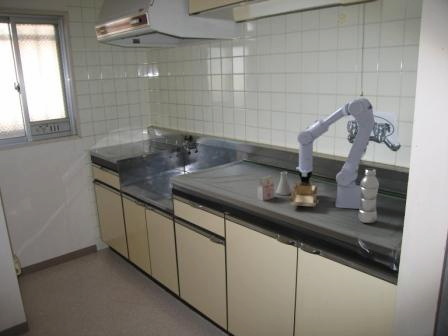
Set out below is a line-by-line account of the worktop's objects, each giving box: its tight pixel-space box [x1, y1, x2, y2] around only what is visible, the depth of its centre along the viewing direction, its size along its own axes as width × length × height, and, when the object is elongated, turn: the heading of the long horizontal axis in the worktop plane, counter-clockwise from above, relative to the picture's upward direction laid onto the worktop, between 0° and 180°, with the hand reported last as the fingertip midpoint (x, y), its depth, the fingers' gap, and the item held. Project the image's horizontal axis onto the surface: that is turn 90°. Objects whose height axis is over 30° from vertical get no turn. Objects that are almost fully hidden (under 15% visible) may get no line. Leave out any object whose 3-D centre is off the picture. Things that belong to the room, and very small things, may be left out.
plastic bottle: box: [357, 167, 380, 224], centre depth 138 cm, size 6×7×20 cm
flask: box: [275, 171, 292, 196], centre depth 175 cm, size 7×7×10 cm
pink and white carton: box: [256, 175, 275, 202], centre depth 169 cm, size 4×7×10 cm, turn 125°
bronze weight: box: [297, 180, 313, 195], centre depth 163 cm, size 6×6×4 cm
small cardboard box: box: [289, 181, 318, 207], centre depth 163 cm, size 10×22×3 cm, turn 165°
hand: (304, 188), depth 167 cm, fingers closed
